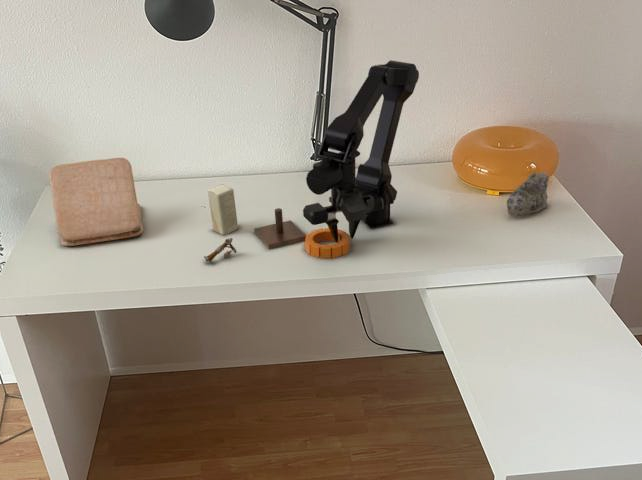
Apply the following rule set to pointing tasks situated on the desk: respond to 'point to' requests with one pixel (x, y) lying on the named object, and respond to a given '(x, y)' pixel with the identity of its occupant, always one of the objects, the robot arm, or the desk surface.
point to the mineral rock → (529, 195)
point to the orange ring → (327, 250)
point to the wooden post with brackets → (219, 249)
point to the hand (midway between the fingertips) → (344, 239)
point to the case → (95, 201)
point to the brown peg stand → (279, 232)
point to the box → (223, 209)
